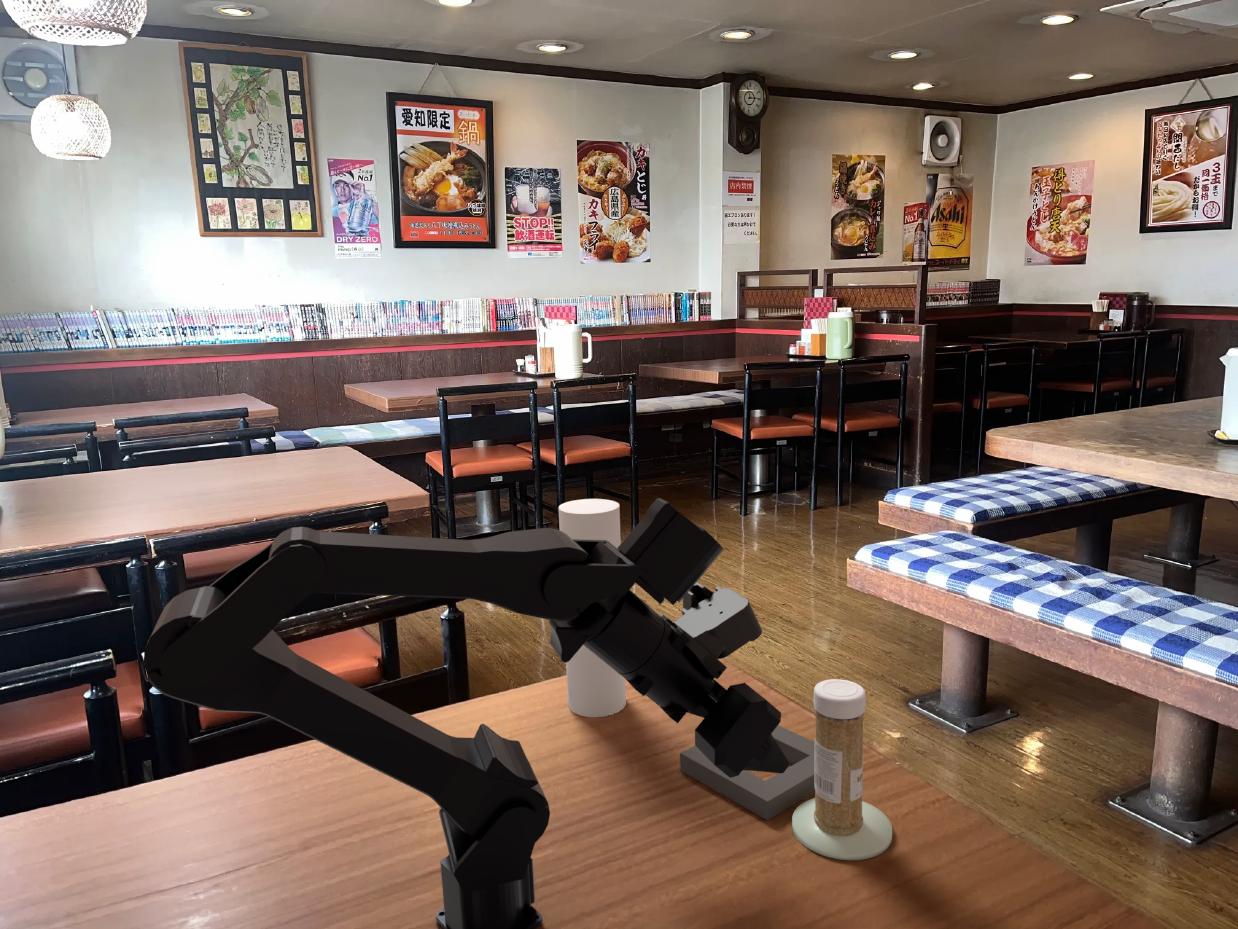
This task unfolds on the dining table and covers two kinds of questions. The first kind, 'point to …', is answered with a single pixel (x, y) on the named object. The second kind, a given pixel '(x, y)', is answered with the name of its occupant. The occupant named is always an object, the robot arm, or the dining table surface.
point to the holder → (752, 789)
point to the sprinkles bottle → (838, 755)
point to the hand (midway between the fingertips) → (757, 743)
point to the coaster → (843, 847)
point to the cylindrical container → (587, 674)
